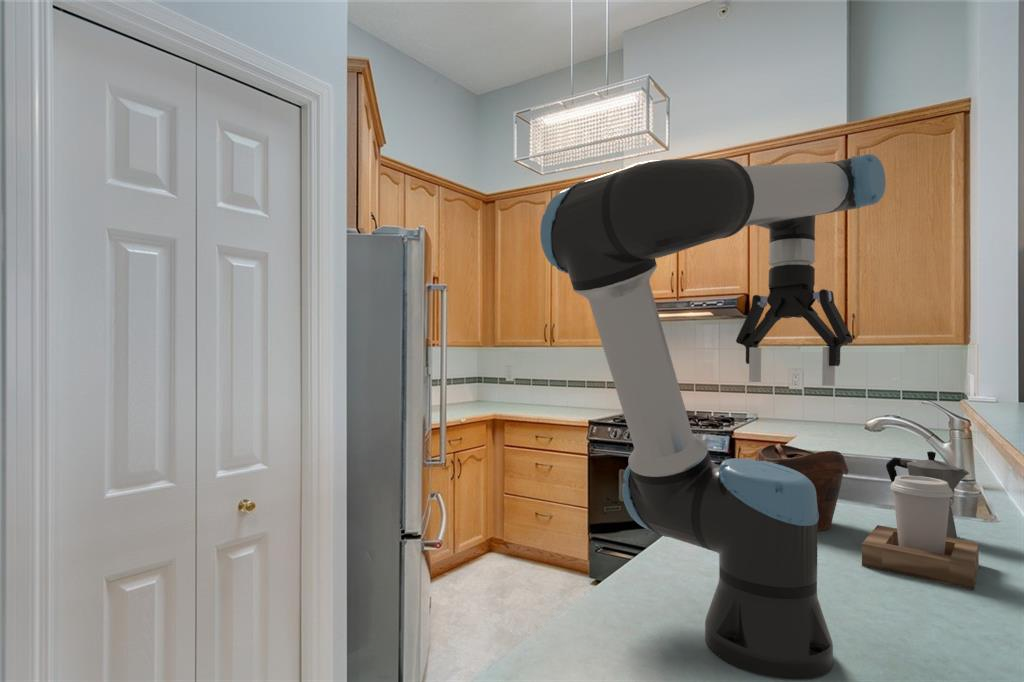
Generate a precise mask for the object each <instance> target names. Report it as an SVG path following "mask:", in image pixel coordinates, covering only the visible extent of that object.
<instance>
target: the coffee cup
mask: <svg viewBox="0 0 1024 682" xmlns="http://www.w3.org/2000/svg"><path fill="white" fill-rule="evenodd" d="M889 488H890V489H891V490H892V492H893V502H894V512H895V521H896V528H897V533H898V543H899V546H901V547H907V548H912V549H917V550H922V551H928V552H933V553H938V554H943V555H944V554H945V544H946V534H947V524H948V514H949V505H950V497H953V498H954V494H955V493H954V494H953V492H952V489H951V488H949V485H948V483H947V482H946V481H943V480H940V479H935V478H929V477H922V476H909V474H908V475H897V476H896V477H895V480H894V481H893V482H891V484H890V487H889Z"/></svg>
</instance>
